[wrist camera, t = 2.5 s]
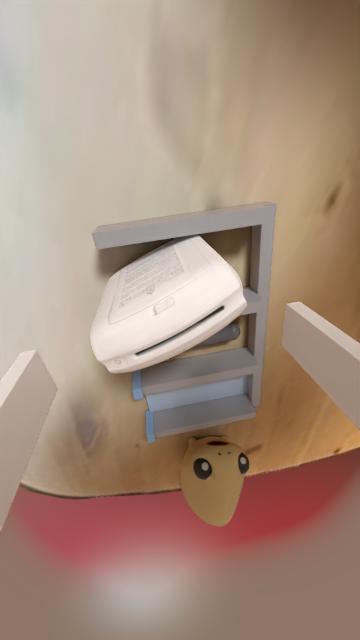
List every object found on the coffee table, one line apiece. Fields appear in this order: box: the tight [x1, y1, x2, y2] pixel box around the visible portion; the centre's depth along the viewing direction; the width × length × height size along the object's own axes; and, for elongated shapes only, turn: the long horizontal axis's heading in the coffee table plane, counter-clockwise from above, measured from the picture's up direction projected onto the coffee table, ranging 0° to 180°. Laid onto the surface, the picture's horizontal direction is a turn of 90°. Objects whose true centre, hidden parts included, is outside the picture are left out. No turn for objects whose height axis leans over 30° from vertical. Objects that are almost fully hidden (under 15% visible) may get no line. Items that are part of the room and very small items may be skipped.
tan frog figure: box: [179, 436, 249, 526], centre depth 34 cm, size 10×12×11 cm
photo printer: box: [90, 234, 247, 374], centre depth 18 cm, size 10×4×12 cm, turn 118°
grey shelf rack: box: [92, 202, 276, 443], centre depth 26 cm, size 26×16×4 cm, turn 7°
